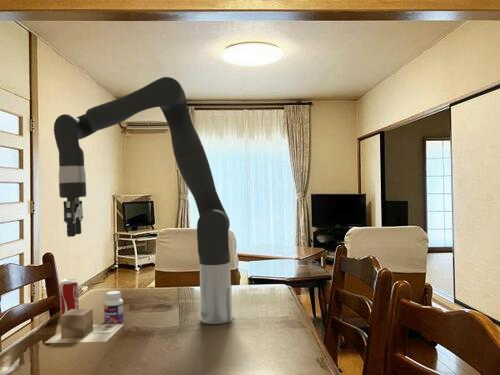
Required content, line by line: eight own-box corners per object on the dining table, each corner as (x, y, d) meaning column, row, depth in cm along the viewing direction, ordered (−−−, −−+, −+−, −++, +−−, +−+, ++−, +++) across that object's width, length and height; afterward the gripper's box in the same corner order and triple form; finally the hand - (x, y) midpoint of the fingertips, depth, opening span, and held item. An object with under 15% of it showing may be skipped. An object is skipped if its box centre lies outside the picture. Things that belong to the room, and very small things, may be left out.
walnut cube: (93, 330, 114) (92, 308, 114) (83, 338, 108) (83, 315, 108) (71, 330, 114) (71, 309, 114) (61, 338, 108) (60, 315, 108)
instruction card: (120, 324, 118) (120, 323, 118) (111, 333, 111) (111, 331, 111) (102, 325, 119) (102, 324, 119) (92, 333, 112) (93, 332, 112)
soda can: (72, 321, 127) (71, 282, 127) (57, 320, 128) (56, 282, 128) (82, 316, 132) (81, 278, 133) (67, 315, 133) (66, 278, 134)
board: (124, 328, 119) (124, 324, 119) (106, 346, 105) (106, 341, 105) (69, 329, 119) (69, 325, 119) (44, 347, 105) (43, 342, 105)
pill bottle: (100, 327, 120) (99, 294, 120) (111, 322, 125) (110, 290, 125) (117, 328, 119) (116, 294, 119) (127, 322, 124) (126, 290, 124)
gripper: (81, 180, 119) (83, 236, 118) (89, 182, 133) (91, 232, 132) (52, 181, 117) (55, 238, 117) (64, 183, 131) (66, 234, 131)
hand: (74, 235), depth 125 cm, fingers open, 8 cm apart
